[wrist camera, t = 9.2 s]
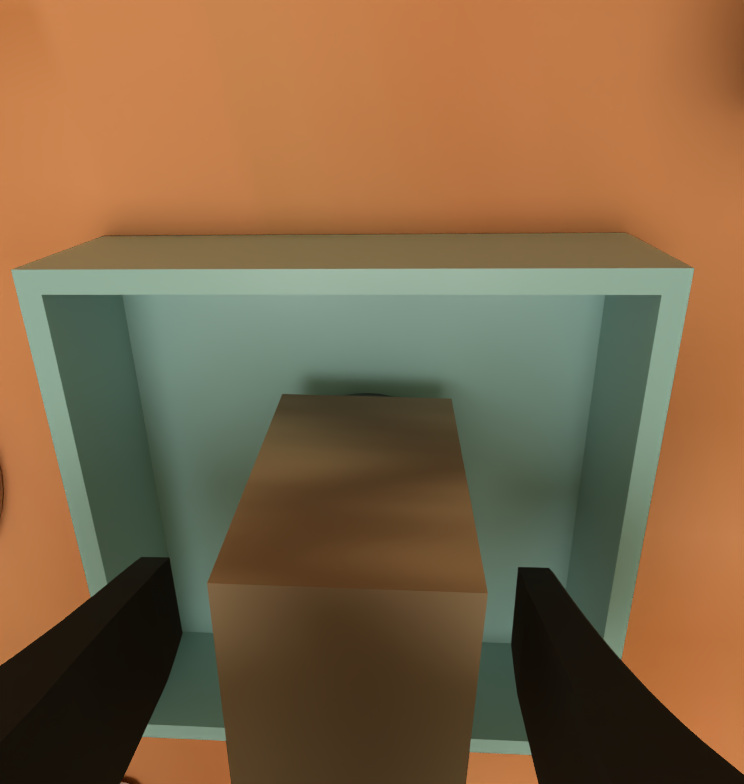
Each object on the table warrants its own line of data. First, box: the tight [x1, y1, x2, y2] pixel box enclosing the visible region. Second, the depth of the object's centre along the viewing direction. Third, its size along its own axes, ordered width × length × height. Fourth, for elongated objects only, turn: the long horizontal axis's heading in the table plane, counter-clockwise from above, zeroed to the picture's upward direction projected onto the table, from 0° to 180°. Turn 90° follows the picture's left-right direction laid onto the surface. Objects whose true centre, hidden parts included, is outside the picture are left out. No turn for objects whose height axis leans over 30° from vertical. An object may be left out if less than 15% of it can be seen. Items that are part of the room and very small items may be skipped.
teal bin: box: [11, 233, 694, 755], centre depth 16 cm, size 13×13×4 cm
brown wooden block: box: [207, 393, 488, 784], centre depth 14 cm, size 5×6×8 cm
